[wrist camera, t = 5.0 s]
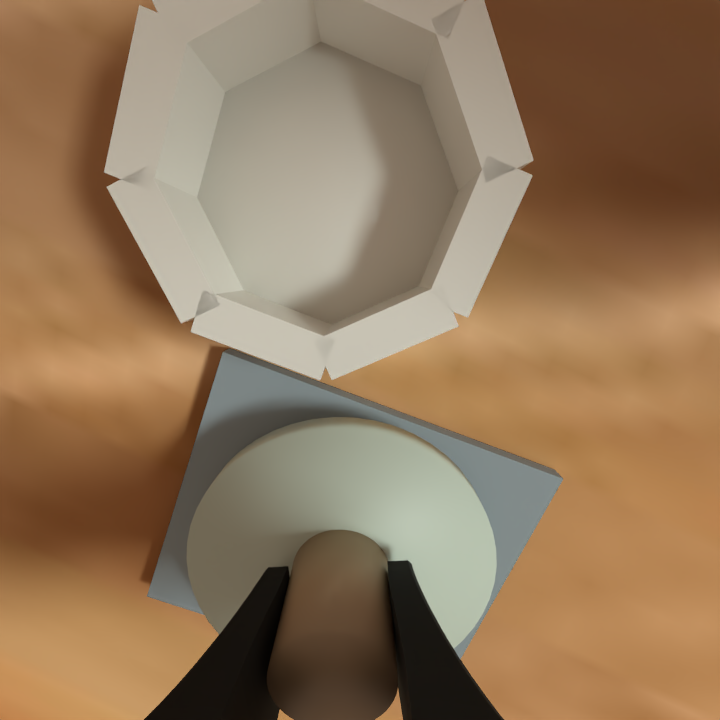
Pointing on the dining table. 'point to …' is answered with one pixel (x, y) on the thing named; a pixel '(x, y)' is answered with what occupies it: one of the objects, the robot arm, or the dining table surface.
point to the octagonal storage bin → (318, 170)
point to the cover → (341, 554)
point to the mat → (318, 400)
